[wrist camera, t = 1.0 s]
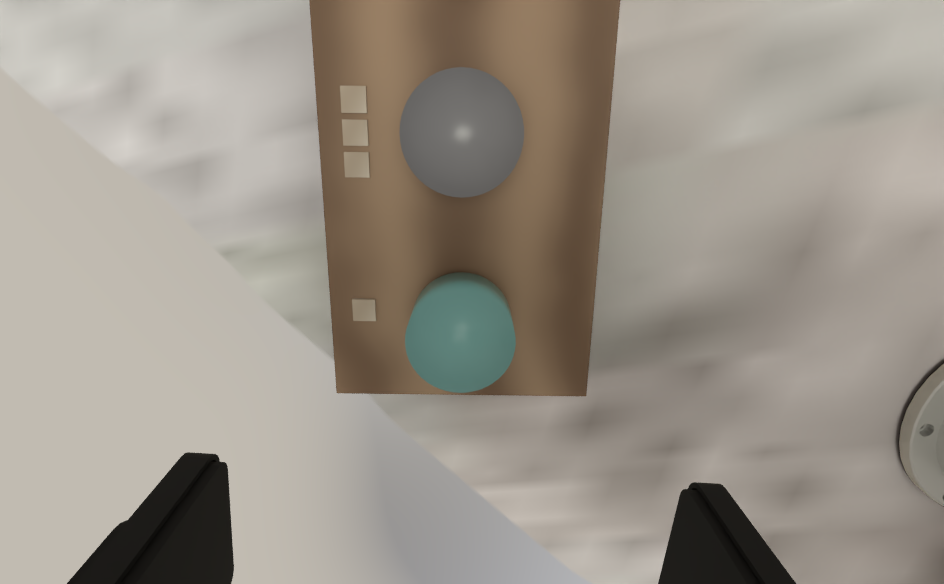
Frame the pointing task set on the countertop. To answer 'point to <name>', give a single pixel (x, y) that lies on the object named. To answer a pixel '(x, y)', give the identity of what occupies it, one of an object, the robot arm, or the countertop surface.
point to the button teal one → (460, 333)
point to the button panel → (469, 218)
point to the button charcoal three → (461, 132)
